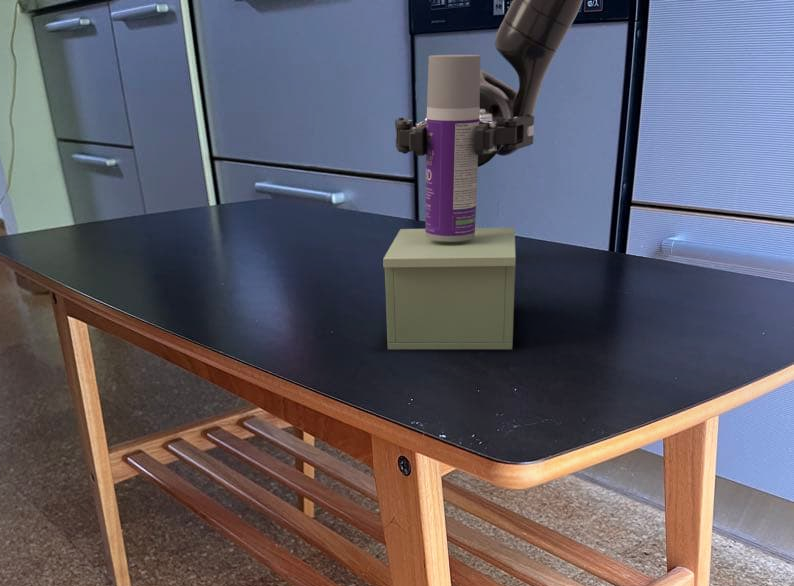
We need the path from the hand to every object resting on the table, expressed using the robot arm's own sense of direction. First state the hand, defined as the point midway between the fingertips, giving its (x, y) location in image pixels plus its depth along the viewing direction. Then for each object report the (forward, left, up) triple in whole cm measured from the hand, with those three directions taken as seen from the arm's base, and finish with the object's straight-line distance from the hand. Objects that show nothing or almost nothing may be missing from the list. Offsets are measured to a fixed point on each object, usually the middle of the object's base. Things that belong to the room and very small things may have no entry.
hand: (449, 142), depth 76 cm
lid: (0, -2, -10) cm, 10 cm away
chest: (0, -3, -17) cm, 18 cm away
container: (0, -2, -9) cm, 9 cm away
